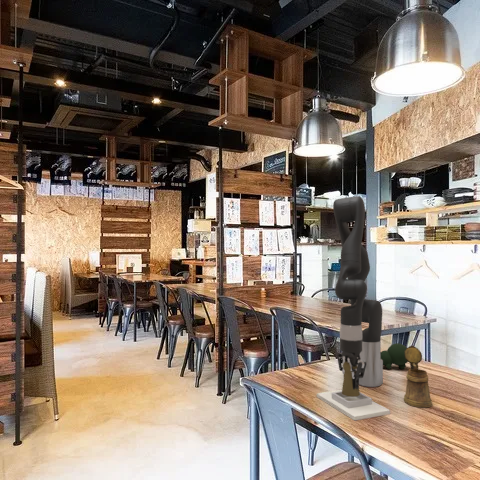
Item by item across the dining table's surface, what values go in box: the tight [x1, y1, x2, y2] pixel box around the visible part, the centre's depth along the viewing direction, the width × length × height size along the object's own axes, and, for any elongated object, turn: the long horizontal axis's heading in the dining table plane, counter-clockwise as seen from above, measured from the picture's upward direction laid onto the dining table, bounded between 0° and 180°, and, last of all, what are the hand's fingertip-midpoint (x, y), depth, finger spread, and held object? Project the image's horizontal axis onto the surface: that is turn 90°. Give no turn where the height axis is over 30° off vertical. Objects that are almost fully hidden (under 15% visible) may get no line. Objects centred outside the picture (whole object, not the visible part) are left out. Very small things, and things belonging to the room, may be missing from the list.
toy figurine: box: [363, 327, 409, 370], centre depth 187 cm, size 9×19×25 cm
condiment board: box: [316, 389, 391, 421], centre depth 144 cm, size 14×22×3 cm, turn 22°
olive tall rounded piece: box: [341, 361, 360, 397], centre depth 144 cm, size 6×6×11 cm
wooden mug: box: [403, 344, 433, 409], centre depth 148 cm, size 9×14×18 cm, turn 170°
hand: (351, 386), depth 144 cm, fingers closed on olive tall rounded piece, 4 cm apart
